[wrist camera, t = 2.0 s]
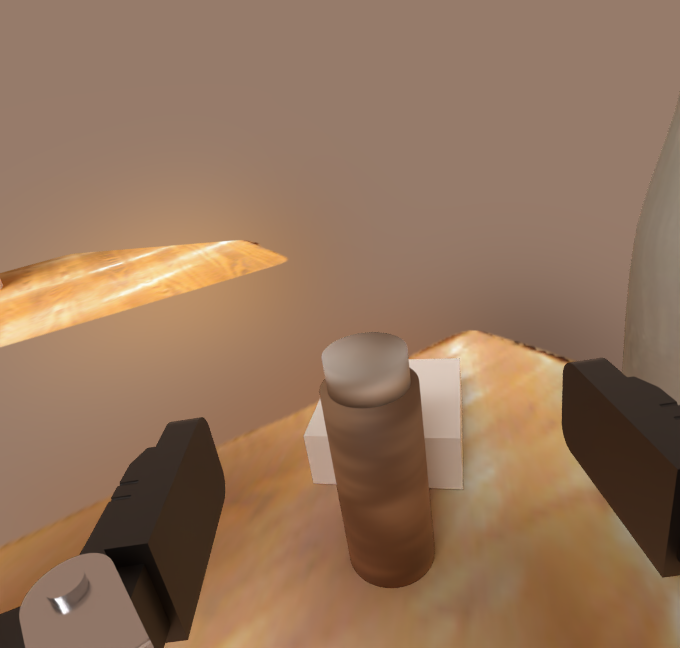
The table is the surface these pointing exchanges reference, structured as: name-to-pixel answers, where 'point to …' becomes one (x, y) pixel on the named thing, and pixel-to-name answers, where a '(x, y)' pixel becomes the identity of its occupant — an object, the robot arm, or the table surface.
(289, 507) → the table surface
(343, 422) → the pepper mill
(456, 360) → the riser block
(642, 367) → the grey vase
